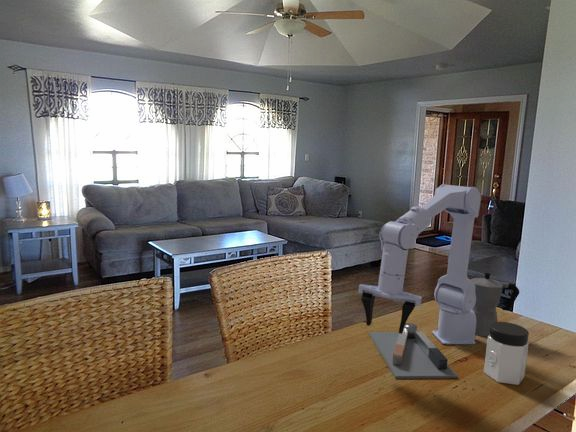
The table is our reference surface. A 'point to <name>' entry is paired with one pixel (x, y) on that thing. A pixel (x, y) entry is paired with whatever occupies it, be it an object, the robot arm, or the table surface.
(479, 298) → the coffeepot
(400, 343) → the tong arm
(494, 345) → the jar
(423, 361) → the slate mat
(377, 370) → the table surface
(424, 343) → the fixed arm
